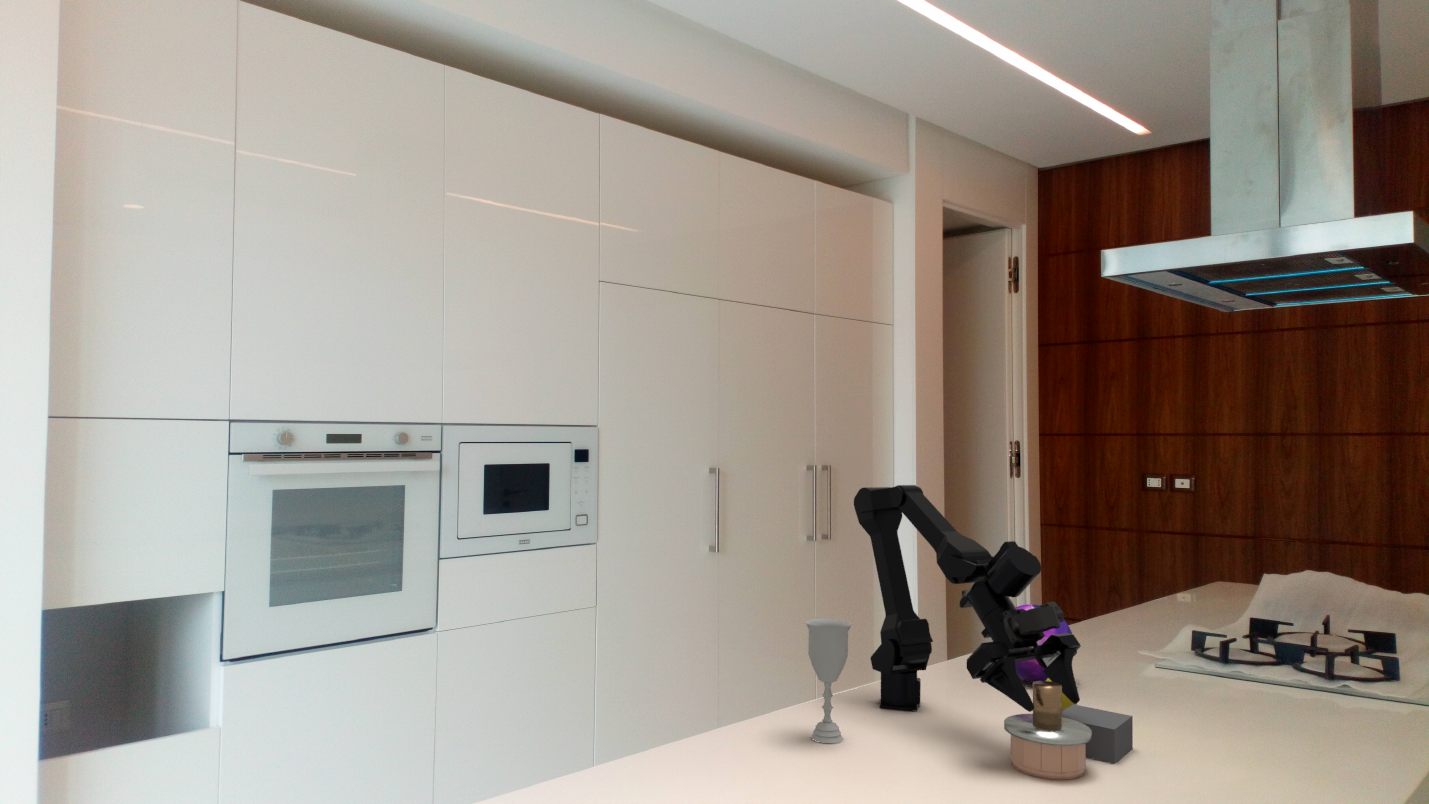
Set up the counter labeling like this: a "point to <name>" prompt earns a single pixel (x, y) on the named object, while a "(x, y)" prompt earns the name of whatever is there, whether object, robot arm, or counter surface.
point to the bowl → (1048, 759)
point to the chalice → (828, 667)
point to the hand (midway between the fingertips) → (1055, 706)
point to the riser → (1104, 732)
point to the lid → (1047, 720)
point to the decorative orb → (1031, 668)
